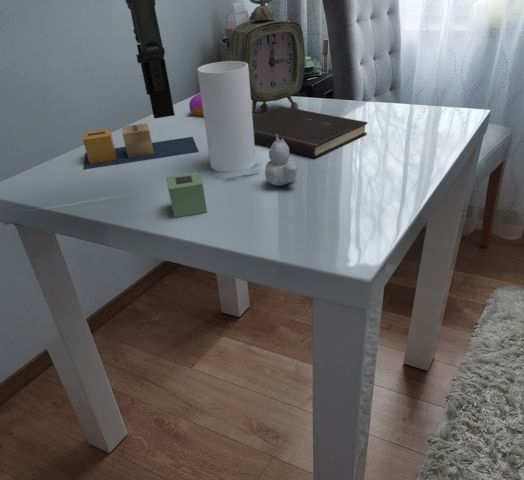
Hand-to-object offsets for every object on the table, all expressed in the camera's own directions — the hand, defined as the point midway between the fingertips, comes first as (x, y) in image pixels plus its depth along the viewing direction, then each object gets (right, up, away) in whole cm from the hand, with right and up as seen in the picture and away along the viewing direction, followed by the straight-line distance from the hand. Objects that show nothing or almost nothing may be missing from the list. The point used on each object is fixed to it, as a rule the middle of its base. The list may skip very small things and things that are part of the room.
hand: (159, 104), depth 72 cm
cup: (+9, -2, +20) cm, 22 cm away
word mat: (-9, +4, +28) cm, 30 cm away
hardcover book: (+21, +8, +30) cm, 38 cm away
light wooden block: (-9, +4, +28) cm, 30 cm away
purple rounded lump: (+3, +21, +47) cm, 52 cm away
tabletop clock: (+16, +19, +44) cm, 51 cm away
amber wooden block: (-17, +3, +27) cm, 32 cm away
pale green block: (+3, -13, +7) cm, 15 cm away
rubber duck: (+18, -8, +11) cm, 23 cm away
